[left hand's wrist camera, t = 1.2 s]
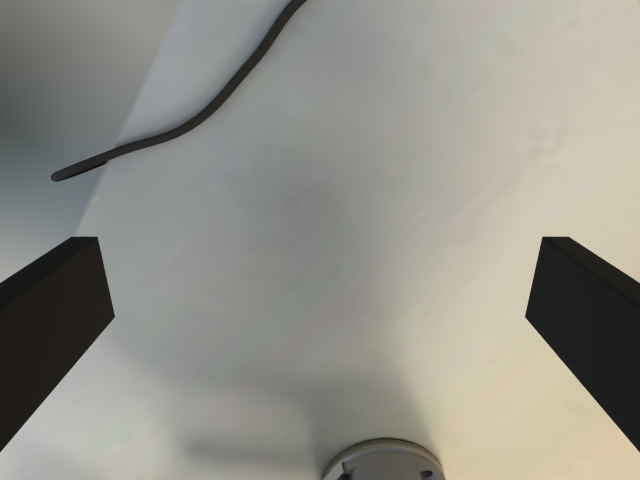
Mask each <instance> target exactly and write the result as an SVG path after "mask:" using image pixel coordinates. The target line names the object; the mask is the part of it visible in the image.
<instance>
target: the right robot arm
mask: <svg viewBox="0 0 640 480" xmlns="http://www.w3.org/2000/svg"><path fill="white" fill-rule="evenodd" d="M306 1H307V0H292V1H291V2H290V3H289V4H288V5H287V6H286V8H285V9H284V10H283V11H282V13H281V14H280V15H279V17H278V18H277V20H276V21H275V23H274V24H273V26H272V27H271V29H270V30H269V32H268V33H267V35H266V36H265V38H264V39H263V41H262V42H261V44H260V45H259V46H258V48H257V49H256V50H255V52H254V53H253V54H252V55H251V57H250V58H249V59H248V60H247V61H246V62H245V64H244V65H243V66H242V67H241V68H240V69H239V70H238V72H237V73H236V74H235V75H234V76H233V78H232V79H231V80H230V81H229V83H228V84H227V85H226V86H225V87H224V89H223V90H222V91H221V92H220V93H219V94H218V96H217V97H216V98H215V99H214V100H213V101H212V102H211V103H210V104H209V105H208V106H207V107H206V108H205V109H203V110H202V111H201V112H200V113H199V114H197V115H196V116H195V117H193V118H192V119H190V120H189V121H187V122H186V123H184V124H182V125H181V126H179V127H177V128H175V129H173V130H171V131H168V132H166V133H163V134H160V135H157V136H154V137H150V138H147V139H143V140H139V141H136V142H132V143H129V144H126V145H123V146H120V147H117V148H115V149H112V150H110V151H107V152H105V153H102V154H100V155H97V156H94V157H91V158H89V159H86V160H84V161H81V162H79V163H76V164H74V165H71V166H69V167H66V168H64V169H62V170H59V171H57V172H55V173H53V174H52V175H51V179H52V180H53V181H55V182H58V181H62V180H66V179H69V178H72V177H74V176H77V175H80V174H82V173H85V172H88V171H90V170H93V169H95V168H98V167H100V166H103V165H105V164H107V163H108V161H109V160H110V159H113V158H116V157H118V156H121V155H124V154H126V153H129V152H132V151H136V150H139V149H143V148H146V147H150V146H153V145H157V144H160V143H163V142H166V141H169V140H172V139H174V138H177V137H179V136H181V135H183V134H185V133H187V132H188V131H190V130H192V129H193V128H195V127H196V126H198V125H199V124H201V123H202V122H203V121H205V120H206V119H207V118H208V117H210V116H211V115H212V114H213V113H214V112H215V111H216V110H217V109H218V108H219V107H220V106H221V105H222V104H223V103H224V102H225V101H226V100H227V99H228V97H229V96H230V95H231V94H232V93H233V91H234V90H235V89H236V88H237V87H238V85H239V84H240V83H241V82H242V81H243V80H244V78H245V77H246V76H247V75H248V74H249V73H250V71H251V70H252V69H253V68H254V67H255V66H256V65H257V63H258V62H259V61H260V60H261V59H262V57H263V56H264V55H265V54H266V52H267V51H268V49H269V48H270V47H271V45H272V44H273V42H274V41H275V39H276V38H277V36H278V35H279V33H280V32H281V30H282V29H283V27H284V26H285V24H286V23H287V22H288V20H289V19H290V18H291V16H292V15H293V14H294V13H295V12H296V10H297V9H298V8H299V7H300V6H301V5H302V4H303V3H305V2H306Z"/></svg>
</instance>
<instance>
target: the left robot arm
mask: <svg viewBox="0 0 640 480" xmlns="http://www.w3.org/2000/svg"><path fill="white" fill-rule="evenodd" d="M114 317H115V315H114V310H113V306H112V301H111V296H110V292H109V287H108V283H107V278H106V274H105V269H104V264H103V260H102V255H101V251H100V246H99V241H98V237H70V238H69V239H67V240H66V241H64V242H63V243H61V244H60V245H58V246H57V247H55V248H53V249H52V250H50V251H49V252H47V253H46V254H44V255H43V256H41V257H40V258H38V259H37V260H35V261H34V262H32V263H30V264H29V265H27V266H26V267H24V268H23V269H21V270H20V271H18V272H17V273H15V274H14V275H12V276H10V277H9V278H7V279H6V280H4V281H3V282H1V283H0V452H1V451H2V450H3V448H4V447H5V446H6V445H7V444H8V442H9V441H10V440H11V439H12V438H13V437H14V435H15V434H16V433H17V432H18V431H19V429H20V428H21V427H22V426H23V425H24V424H25V422H26V421H27V420H28V419H29V418H30V417H31V415H32V414H33V413H34V412H35V411H36V409H37V408H38V407H39V406H40V405H41V404H42V402H43V401H44V400H45V399H46V398H47V396H48V395H49V394H50V393H51V392H52V391H53V389H54V388H55V387H56V386H57V385H58V384H59V382H60V381H61V380H62V379H63V378H64V376H65V375H66V374H67V373H68V372H69V371H70V369H71V368H72V367H73V366H74V365H75V363H76V362H77V361H78V360H79V359H80V358H81V356H82V355H83V354H84V353H85V352H86V350H87V349H88V348H89V347H90V346H91V345H92V343H93V342H94V341H95V340H96V339H97V338H98V336H99V335H100V334H101V333H102V332H103V330H104V329H105V328H106V327H107V326H108V325H109V323H110V322H111V321H112V320H113V319H114ZM525 317H526V319H527V320H528V321H529V322H530V323H531V325H532V326H533V327H534V328H535V329H536V330H537V332H538V333H539V334H540V335H541V336H542V338H543V339H544V340H545V341H546V342H547V343H548V345H549V346H550V347H551V348H552V349H553V350H554V352H555V353H556V354H557V355H558V356H559V358H560V359H561V360H562V361H563V362H564V363H565V365H566V366H567V367H568V368H569V369H570V371H571V372H572V373H573V374H574V375H575V376H576V378H577V379H578V380H579V381H580V382H581V384H582V385H583V386H584V387H585V388H586V389H587V391H588V392H589V393H590V394H591V395H592V396H593V398H594V399H595V400H596V401H597V402H598V404H599V405H600V406H601V407H602V408H603V409H604V411H605V412H606V413H607V414H608V415H609V417H610V418H611V419H612V420H613V421H614V422H615V424H616V425H617V426H618V427H619V428H620V429H621V431H622V432H623V433H624V434H625V435H626V437H627V438H628V439H629V440H630V441H631V442H632V444H633V445H634V446H635V447H636V448H637V450H638V451H639V452H640V283H639V282H637V281H636V280H634V279H633V278H631V277H630V276H628V275H627V274H625V273H623V272H622V271H620V270H619V269H617V268H616V267H614V266H613V265H611V264H610V263H608V262H607V261H605V260H603V259H602V258H600V257H599V256H597V255H596V254H594V253H593V252H591V251H590V250H588V249H587V248H585V247H583V246H582V245H580V244H579V243H577V242H576V241H574V240H573V239H571V238H570V237H542V241H541V246H540V251H539V255H538V260H537V264H536V269H535V274H534V278H533V283H532V287H531V292H530V296H529V301H528V306H527V310H526V315H525ZM323 480H445V476H444V473H443V470H442V467H441V465H440V463H439V462H438V460H437V459H436V458H435V457H434V456H433V455H432V454H431V453H430V452H428V451H427V450H425V449H424V448H422V447H420V446H418V445H415V444H413V443H409V442H406V441H401V440H392V439H382V440H373V441H368V442H364V443H360V444H358V445H355V446H353V447H351V448H348V449H347V450H345V451H343V452H342V453H341V454H339V455H338V456H337V457H336V458H335V459H334V460H333V461H332V462H331V463H330V465H329V466H328V468H327V469H326V472H325V474H324V478H323Z"/></svg>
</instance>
